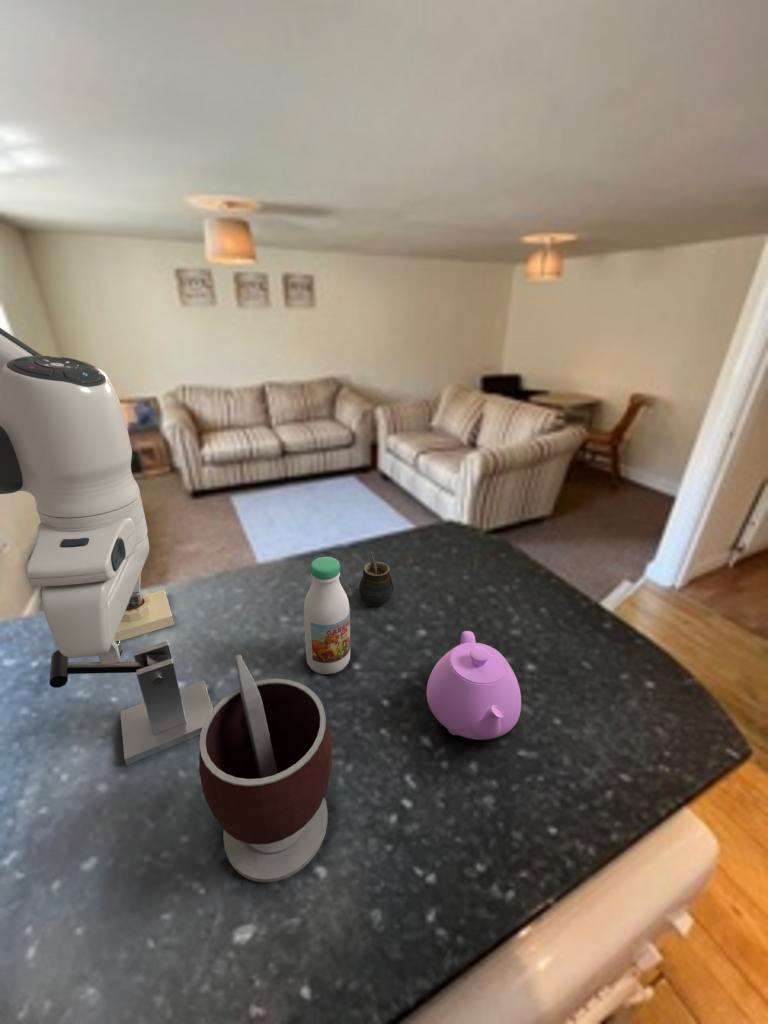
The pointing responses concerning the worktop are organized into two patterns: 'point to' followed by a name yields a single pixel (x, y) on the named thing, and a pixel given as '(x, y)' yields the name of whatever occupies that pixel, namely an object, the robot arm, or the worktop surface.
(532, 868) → the worktop surface
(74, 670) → the lever
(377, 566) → the mate gourd
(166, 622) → the button box
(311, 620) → the milk bottle
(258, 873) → the mate gourd
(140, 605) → the button
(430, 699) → the teapot
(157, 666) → the bracket
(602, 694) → the worktop surface
